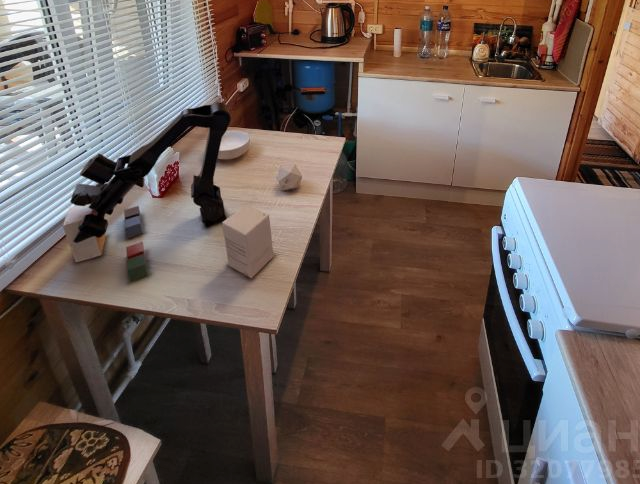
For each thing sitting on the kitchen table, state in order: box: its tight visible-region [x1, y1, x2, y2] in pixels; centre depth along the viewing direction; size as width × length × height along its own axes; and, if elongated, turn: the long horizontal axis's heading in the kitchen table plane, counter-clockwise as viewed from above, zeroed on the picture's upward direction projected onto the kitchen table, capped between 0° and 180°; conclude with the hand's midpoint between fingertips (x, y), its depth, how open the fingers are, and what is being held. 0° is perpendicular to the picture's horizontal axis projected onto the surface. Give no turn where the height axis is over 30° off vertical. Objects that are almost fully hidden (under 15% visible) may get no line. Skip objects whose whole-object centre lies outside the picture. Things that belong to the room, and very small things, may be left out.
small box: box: [62, 204, 107, 263], centre depth 107 cm, size 8×6×13 cm
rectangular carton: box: [221, 203, 275, 279], centre depth 103 cm, size 9×9×15 cm
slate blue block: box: [124, 216, 144, 239], centre depth 115 cm, size 4×4×4 cm
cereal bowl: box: [217, 129, 251, 160], centre depth 156 cm, size 17×17×7 cm
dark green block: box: [126, 254, 149, 283], centre depth 101 cm, size 4×4×4 cm
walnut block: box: [123, 205, 143, 224], centre depth 119 cm, size 4×4×4 cm
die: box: [276, 163, 303, 191], centre depth 136 cm, size 8×9×10 cm
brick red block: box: [125, 241, 147, 262], centre depth 105 cm, size 4×4×4 cm
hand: (79, 231), depth 107 cm, fingers closed on small box, 8 cm apart
